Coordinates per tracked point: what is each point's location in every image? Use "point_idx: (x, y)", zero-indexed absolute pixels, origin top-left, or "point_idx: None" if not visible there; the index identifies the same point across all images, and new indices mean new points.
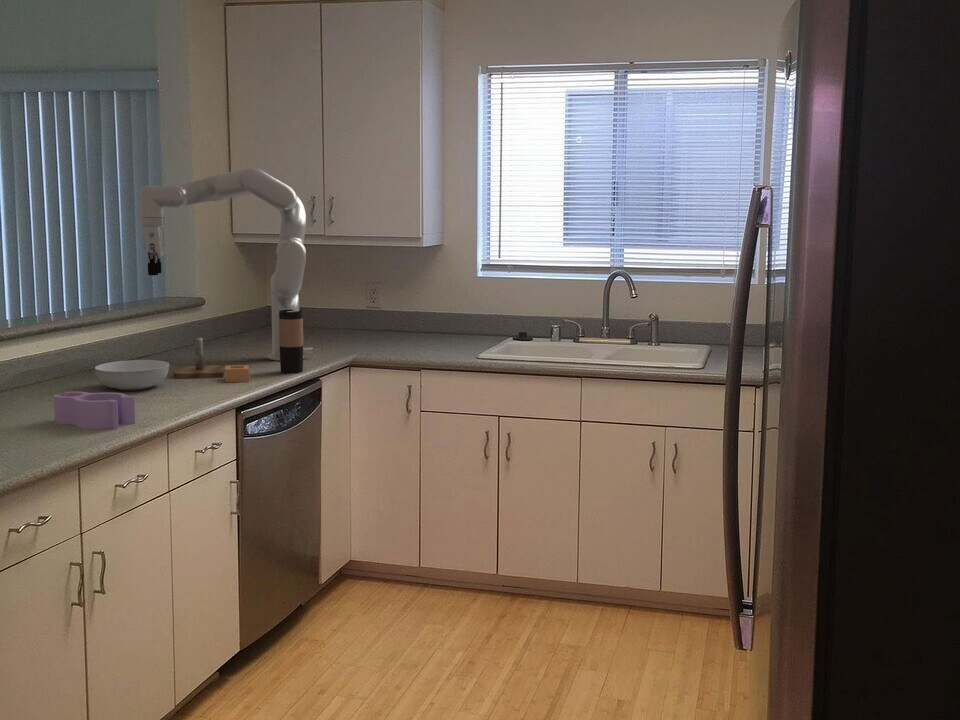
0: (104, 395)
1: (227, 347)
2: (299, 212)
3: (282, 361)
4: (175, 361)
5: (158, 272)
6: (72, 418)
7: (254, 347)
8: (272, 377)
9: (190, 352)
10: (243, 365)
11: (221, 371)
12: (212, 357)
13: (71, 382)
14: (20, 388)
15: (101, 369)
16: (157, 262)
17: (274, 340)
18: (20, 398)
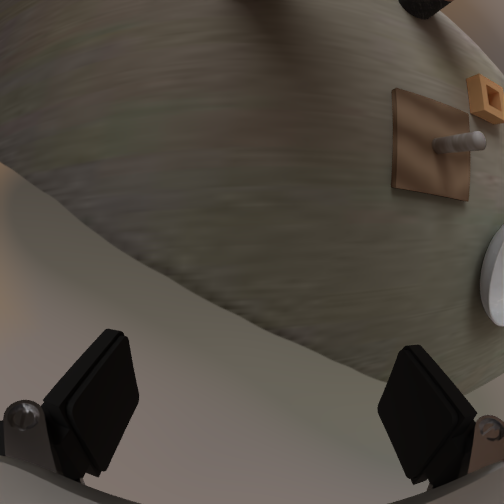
0: None
1: (59, 96)
2: None
3: (436, 11)
4: (246, 188)
5: (128, 354)
6: None
7: (76, 45)
8: (460, 48)
9: (105, 163)
10: (481, 82)
11: (459, 112)
12: (195, 101)
13: (436, 357)
14: None
15: (496, 318)
16: (86, 431)
17: None
18: (489, 374)
